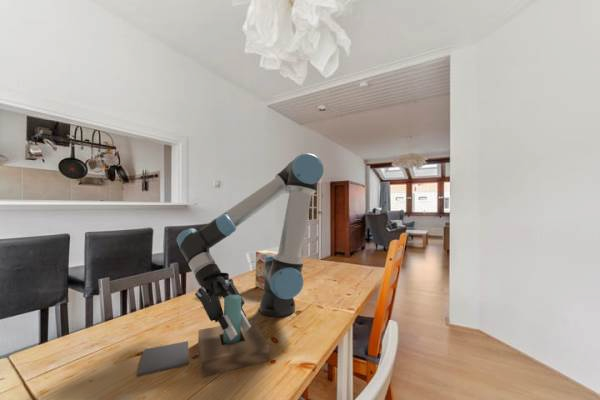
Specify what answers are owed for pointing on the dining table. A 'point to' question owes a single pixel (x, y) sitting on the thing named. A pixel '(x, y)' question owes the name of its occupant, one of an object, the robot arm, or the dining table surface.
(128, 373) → the dining table surface
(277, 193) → the robot arm
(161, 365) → the mat
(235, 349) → the pocket block
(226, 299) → the peg
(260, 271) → the coffeecake box
